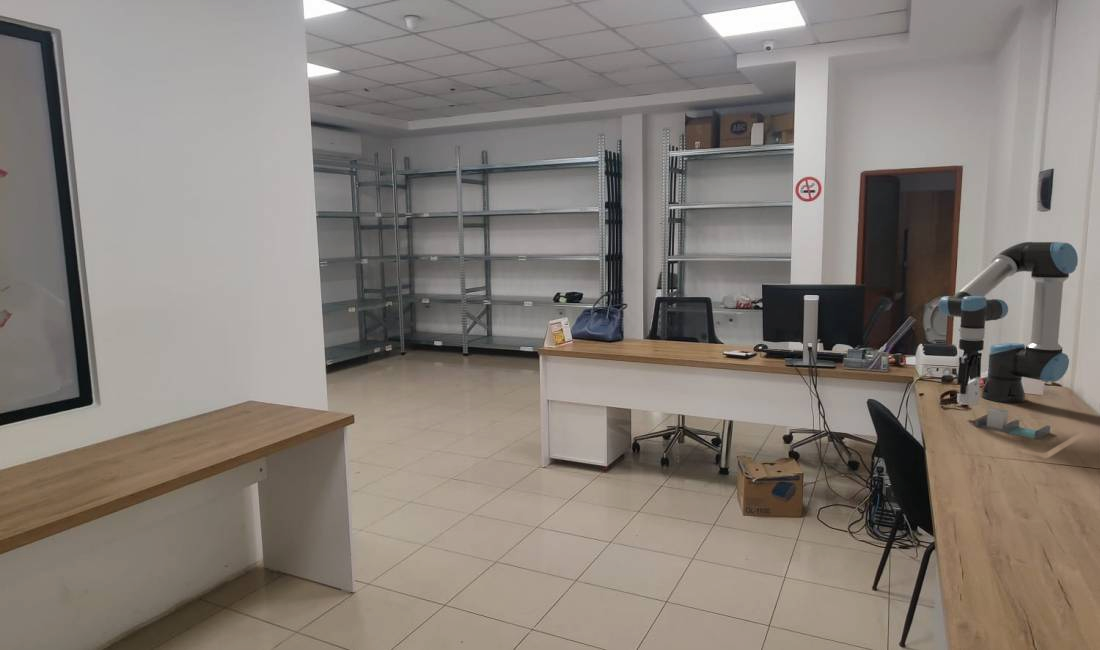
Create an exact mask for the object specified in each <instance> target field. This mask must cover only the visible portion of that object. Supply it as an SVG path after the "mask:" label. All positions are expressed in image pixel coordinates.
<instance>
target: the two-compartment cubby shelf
mask: <svg viewBox="0 0 1100 650" xmlns="http://www.w3.org/2000/svg"><path fill="white" fill-rule="evenodd" d="M987 415H988V413H986V414H984V415H982V416H980V417H978V418H976V419H974V427H975V428H980V429H986V430H991V431H996V432H1001V433H1005V434H1009V435H1013V436H1014V435H1015V436H1020V437H1024V438H1025V437H1026V438H1030V439H1035V440H1039V439H1042V438H1043V437H1045V436H1047V435H1049V434H1051V425H1047V424H1046V425H1045V426H1043V427H1041V428H1039V429H1031V428H1026V427H1022V426H1020V422H1021V421H1020V420H1019V419H1015V420H1013V421H1011V422H1009V423H1008V422H1007V424H1006V425H1004V429H1000V428H995V427H990V426H987Z"/></svg>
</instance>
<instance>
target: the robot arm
mask: <svg viewBox="0 0 1100 650" xmlns="http://www.w3.org/2000/svg"><path fill="white" fill-rule="evenodd" d="M1078 262H1079V259H1078V253H1077V251H1076V249H1075V248H1074V246H1073V245H1072V244H1070V243H1067V242H1061V241H1060V242H1059V241H1044V242H1043V241H1042V242H1041V241H1040V242H1039V241H1034V242H1033V241H1024V242H1019V243H1016V244H1014V245H1012V246H1010V247H1008V248H1006V249H1005V250H1003V251H1001V252H1000V253H998V254H997V255H996V256H994V257H993V258H992V260H991V262H990V264H989V265H988V266H987V267H986V268H984V269H983V270H982V271H981V272H979V274H978V275H976V276H975V277H974V278H972V279H971V280H970V281H969V282H968V283H967V284H965V285H964V286H963V287H962V288H961V289H959V291H958V292H957V293H955V294H954V295H947V296H946V295H945V296H943V297H941V298H940V300H939V301H938V306H937V307H938V311H939V313H940V314H941V315H943V316H948V317H954V318H955V317H956V318H960V328H959V329H958V331H959V338H960V339H958V342H959V343H958V349H960V350H962V351H963V353H962V356H959V357H958V362H959V363H958V374H957V382H956V384H957V385H959V393H960V394H959V402H963V403H968V395H969V385H968V381H970V380H972V379H974V378H976V377H980V382H981V380H982V379H981V375H982V374H981V371H982V370H981V369H982V355H983V353H982V352H980V351H983V350H984V345H985V344H984V342H985V340H984V339H985V333H986V332H985V329H986V327H985V326H986V322H989V321H997V320H1001V319H1004V318H1005V317H1006V316H1008V315H1007V314H1008V312H1009V306H1008V304H1007V303H1006V301H1004V300H1002V299H998V298H991V299H988V298H986V296H988V294H989V293H990V292H991V291H993V289H995V288H996V287H997V286H998V285H999V284H1001V283H1002V282H1003V281H1005V279H1007V278H1009V277H1012V276H1014V275H1015V274H1016V273H1019V272H1029V273H1030V274H1031V276H1030V278H1031V279H1032V280H1034V281H1035V282H1034V283H1035V286H1034V298H1033V311H1032V323H1031V336H1030V342H1028V343H1027V344H1026V345H1025V344H1024V343H1018V342H1017V343H1013V342H1012V343H1008V342H1007V343H1005V342H1004V343H995V344H993V345H991V346H990V347H989V348H990V349H989V354H988V367H987V368H988V370H987V378H986V381H985V383H984V385H983V388H982V390H981V391H980V393H981V395H980V396H981V398H983V399H985V398H986V400H990V401H993V402H1001V403H1011V404H1012V403H1015V404H1018V403H1024V402H1025V401H1026V394H1025V389H1024V386H1023V384H1022V383H1023V382H1022V380H1023V379H1022V378H1026V379H1032V380H1037V381H1041V382H1051V383H1055V382H1058V381H1059V380H1061V379H1062V378H1063V377H1064V376H1065V375H1066V373H1067V371H1068V368H1069V364H1070V358H1069V356H1068V355H1067V353H1064V352H1063V346H1062V345H1060V344H1059V338H1060V325H1061V313H1062V311H1061V310H1062V302H1063V301H1062V300H1063V289H1064V288H1063V287H1064V282H1065V281H1066V280H1068V279H1069V277H1070V274H1072V273H1074V272H1075V271H1076V269H1077V267H1078Z"/></svg>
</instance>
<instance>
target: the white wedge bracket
mask: <svg viewBox="0 0 1100 650" xmlns="http://www.w3.org/2000/svg"><path fill="white" fill-rule="evenodd" d="M980 379H981V378H980V377H976V378H974V379H972V380H970V379H969V381H968V385H969V395H968V403H963V402H959V394H957V402H958V404H960V405H961V404H962V405H969V406H970V405H974V406H975V405H980V404H979V403H980V391H981V390H980V388H981V381H980Z"/></svg>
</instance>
